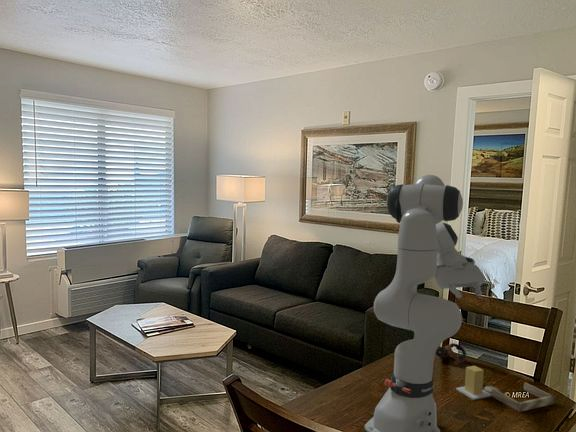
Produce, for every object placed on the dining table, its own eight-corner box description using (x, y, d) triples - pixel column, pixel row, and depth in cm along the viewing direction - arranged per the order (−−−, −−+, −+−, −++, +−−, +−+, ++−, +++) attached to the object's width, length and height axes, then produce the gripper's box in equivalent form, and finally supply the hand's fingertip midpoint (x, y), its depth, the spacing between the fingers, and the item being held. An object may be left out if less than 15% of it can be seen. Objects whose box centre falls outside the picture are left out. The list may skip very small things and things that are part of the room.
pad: (473, 400, 148) (473, 398, 147) (455, 389, 155) (456, 387, 155) (491, 396, 151) (491, 394, 150) (473, 386, 158) (473, 384, 158)
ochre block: (473, 394, 150) (474, 371, 150) (464, 389, 154) (465, 367, 153) (482, 392, 152) (483, 370, 151) (473, 387, 155) (474, 365, 155)
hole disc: (480, 388, 156) (480, 387, 156) (466, 383, 160) (466, 382, 160) (486, 384, 160) (486, 383, 160) (473, 379, 163) (473, 379, 163)
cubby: (519, 411, 140) (519, 404, 140) (491, 396, 150) (492, 389, 150) (554, 403, 146) (555, 396, 146) (525, 389, 157) (526, 382, 156)
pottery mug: (454, 356, 187) (464, 343, 183) (461, 375, 178) (471, 361, 174) (428, 350, 185) (437, 336, 181) (434, 368, 177) (443, 354, 173)
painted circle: (496, 394, 152) (496, 394, 152) (481, 389, 155) (481, 388, 155) (502, 390, 155) (502, 389, 155) (487, 385, 159) (487, 384, 159)
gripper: (434, 260, 163) (452, 293, 155) (476, 258, 171) (496, 289, 163) (425, 270, 168) (442, 302, 159) (467, 268, 175) (485, 298, 167)
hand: (469, 296), depth 161 cm, fingers open, 8 cm apart
